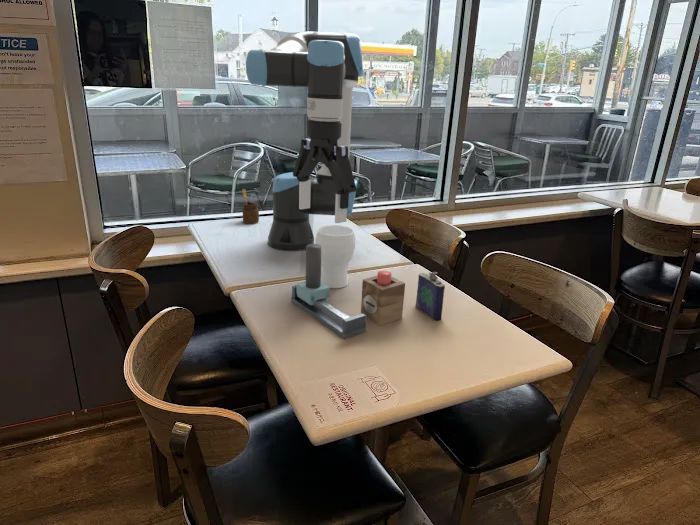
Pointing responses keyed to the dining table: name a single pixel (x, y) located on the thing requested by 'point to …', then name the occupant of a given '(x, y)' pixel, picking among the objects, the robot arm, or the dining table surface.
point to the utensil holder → (250, 211)
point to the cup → (335, 254)
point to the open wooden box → (382, 300)
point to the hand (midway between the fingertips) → (321, 215)
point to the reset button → (384, 278)
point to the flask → (430, 295)
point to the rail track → (325, 318)
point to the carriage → (313, 277)
